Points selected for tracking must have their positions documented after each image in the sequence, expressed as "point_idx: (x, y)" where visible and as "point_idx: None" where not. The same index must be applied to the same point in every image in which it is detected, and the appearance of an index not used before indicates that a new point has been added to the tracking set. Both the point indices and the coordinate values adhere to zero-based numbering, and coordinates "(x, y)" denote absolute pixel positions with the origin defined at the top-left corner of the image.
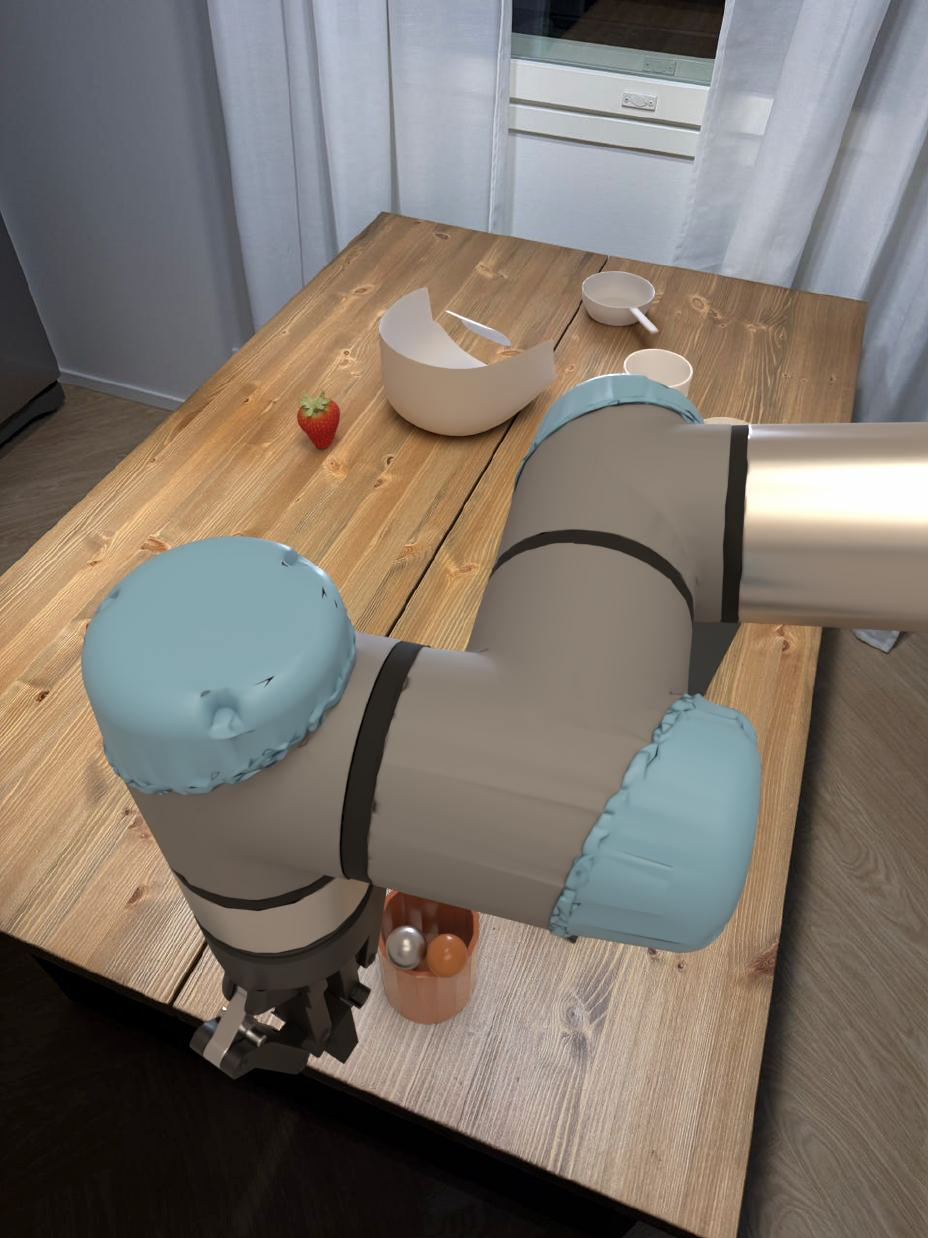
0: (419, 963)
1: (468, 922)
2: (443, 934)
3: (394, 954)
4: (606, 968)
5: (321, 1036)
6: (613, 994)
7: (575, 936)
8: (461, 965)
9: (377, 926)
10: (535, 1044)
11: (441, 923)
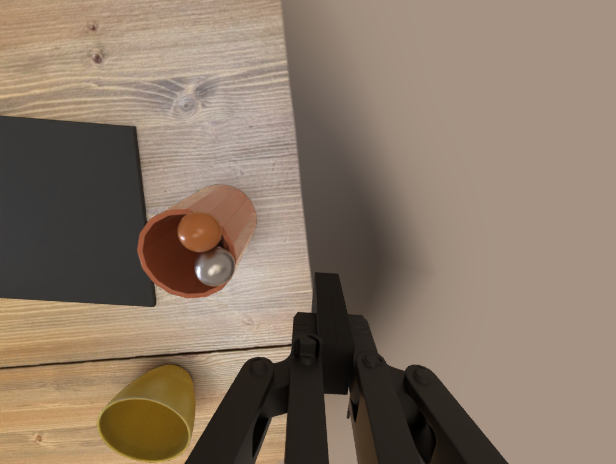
0: (220, 249)
1: (165, 219)
2: (183, 245)
3: (227, 275)
4: (137, 92)
5: (379, 370)
6: (152, 78)
7: (129, 128)
8: (199, 216)
9: (213, 442)
10: (222, 124)
11: None
